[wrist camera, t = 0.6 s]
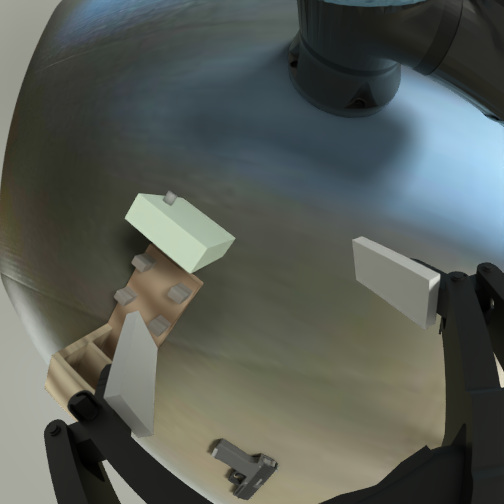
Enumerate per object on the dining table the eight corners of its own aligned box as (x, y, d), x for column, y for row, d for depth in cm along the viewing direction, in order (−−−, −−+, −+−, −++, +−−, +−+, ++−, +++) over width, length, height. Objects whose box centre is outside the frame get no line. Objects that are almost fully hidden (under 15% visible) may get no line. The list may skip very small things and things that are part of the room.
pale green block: (187, 190, 36) (145, 183, 26) (241, 230, 36) (214, 237, 25) (171, 216, 37) (124, 218, 26) (222, 256, 37) (190, 273, 26)
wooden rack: (155, 242, 38) (84, 258, 24) (203, 282, 38) (149, 320, 23) (97, 352, 43) (44, 388, 29) (133, 385, 43) (86, 431, 28)
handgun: (197, 482, 43) (248, 502, 41) (216, 444, 39) (280, 468, 37) (201, 474, 46) (252, 494, 44) (222, 434, 42) (283, 457, 40)
